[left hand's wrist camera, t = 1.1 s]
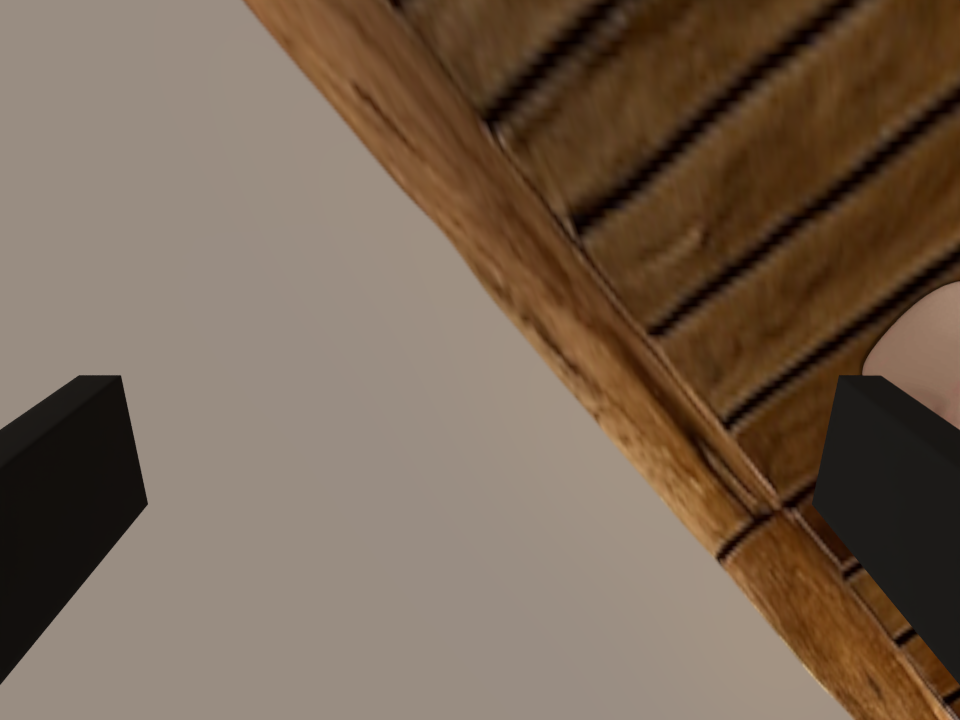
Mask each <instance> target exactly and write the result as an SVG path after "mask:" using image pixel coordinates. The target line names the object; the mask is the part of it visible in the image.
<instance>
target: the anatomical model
mask: <svg viewBox="0 0 960 720" xmlns="http://www.w3.org/2000/svg"><path fill="white" fill-rule="evenodd" d="M862 374H863V375H881V376H883V377H884V378H885V379H887V380H888V381H890V382H891V383H893V384H894V385H896V386H897V387H899V388H900V389H901V390H903V391H904V392H906V393H907V394H909V395H910V396H912V397H913V398H914V399H916V400H917V401H919V402H920V403H922V404H923V405H925V406H926V407H927V408H929V409H930V410H932V411H933V412H935V413H936V414H938V415H939V416H940V417H942V418H943V419H945V420H946V421H948V422H949V423H951V424H952V425H954V426H955V427H956V428H958V429H959V430H960V281H959V282H955V283H951V284H948V285H945V286H943V287H941V288H939V289H937V290H935V291H933V292H931V293H930V294H928V295H927V296H925V297H924V298H922V299H921V300H920V301H918V302H917V303H916V304H914V305H913V306H912V307H911V308H910V309H909V310H908V311H906V312H905V313H904V314H903V315H902V316H901V317H900V318H899V319H898V320H897V321H896V322H895V323H894V324H893V325H892V326H891V327H890V329H889V330H888V331H887V332H886V333H885V334H884V335H883V337H882V338H881V339H880V340H879V341H878V343H877V344H876V345H875V347H874V348H873V349H872V351H871V352H870V354H869V355H868V357H867V359H866V361H865V363H864V366H863V372H862Z"/></svg>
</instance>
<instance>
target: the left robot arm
mask: <svg viewBox="0 0 960 720" xmlns="http://www.w3.org/2000/svg"><path fill="white" fill-rule="evenodd" d="M147 505H148V502H147V497H146V492H145V488H144V483H143V478H142V474H141V469H140V464H139V459H138V454H137V450H136V445H135V440H134V435H133V431H132V426H131V421H130V416H129V412H128V407H127V402H126V397H125V393H124V388H123V383H122V378H121V376H120V375H79V376H77V377H76V378H75V379H73V380H72V381H70V382H69V383H67V384H66V385H64V386H63V387H61V388H60V389H59V390H57V391H56V392H54V393H53V394H51V395H50V396H49V397H47V398H46V399H44V400H43V401H41V402H40V403H38V404H37V405H35V406H34V407H33V408H31V409H30V410H28V411H27V412H25V413H24V414H22V415H21V416H20V417H18V418H17V419H15V420H14V421H12V422H11V423H9V424H8V425H6V426H5V427H4V428H2V429H1V430H0V684H1V683H2V682H3V681H4V680H5V678H6V677H7V676H8V675H9V673H10V672H11V671H12V670H13V669H14V667H15V666H16V665H17V664H18V662H19V661H20V660H21V659H22V658H23V656H24V655H25V654H26V653H27V651H28V650H29V649H30V648H31V647H32V645H33V644H34V643H35V642H36V640H37V639H38V638H39V637H40V636H41V634H42V633H43V632H44V631H45V629H46V628H47V627H48V626H49V625H50V623H51V622H52V621H53V620H54V618H55V617H56V616H57V615H58V614H59V612H60V611H61V610H62V609H63V607H64V606H65V605H66V604H67V603H68V601H69V600H70V599H71V598H72V596H73V595H74V594H75V593H76V592H77V590H78V589H79V588H80V587H81V585H82V584H83V583H84V582H85V581H86V579H87V578H88V577H89V576H90V574H91V573H92V572H93V571H94V570H95V568H96V567H97V566H98V565H99V563H100V562H101V561H102V560H103V559H104V557H105V556H106V555H107V554H108V552H109V551H110V550H111V549H112V548H113V546H114V545H115V544H116V543H117V541H118V540H119V539H120V538H121V537H122V535H123V534H124V533H125V532H126V530H127V529H128V528H129V527H130V526H131V524H132V523H133V522H134V521H135V519H136V518H137V517H138V516H139V515H140V513H141V512H142V511H143V510H144V508H145V507H146V506H147ZM812 505H813V506H814V507H815V508H816V510H817V511H818V512H819V513H820V515H821V516H822V517H823V518H824V519H825V521H826V522H827V523H828V524H829V526H830V527H831V528H832V529H833V530H834V532H835V533H836V534H837V535H838V537H839V538H840V539H841V540H842V541H843V543H844V544H845V545H846V546H847V548H848V549H849V550H850V551H851V552H852V554H853V555H854V556H855V557H856V559H857V560H858V561H859V562H860V563H861V565H862V566H863V567H864V568H865V570H866V571H867V572H868V573H869V574H870V576H871V577H872V578H873V579H874V581H875V582H876V583H877V584H878V585H879V587H880V588H881V589H882V590H883V592H884V593H885V594H886V595H887V596H888V598H889V599H890V600H891V601H892V603H893V604H894V605H895V606H896V607H897V609H898V610H899V611H900V612H901V614H902V615H903V616H904V617H905V618H906V620H907V621H908V622H909V623H910V625H911V626H912V627H913V628H914V629H915V631H916V632H917V633H918V634H919V636H920V637H921V638H922V639H923V640H924V642H925V643H926V644H927V645H928V647H929V648H930V649H931V650H932V651H933V653H934V654H935V655H936V656H937V658H938V659H939V660H940V661H941V662H942V664H943V665H944V666H945V667H946V669H947V670H948V671H949V672H950V673H951V675H952V676H953V677H954V678H955V680H956V681H957V682H958V683H959V684H960V430H959V429H958V428H956V427H955V426H954V425H952V424H951V423H949V422H948V421H946V420H945V419H943V418H942V417H940V416H939V415H938V414H936V413H935V412H933V411H932V410H930V409H929V408H927V407H926V406H925V405H923V404H922V403H920V402H919V401H917V400H916V399H914V398H913V397H912V396H910V395H909V394H907V393H906V392H904V391H903V390H901V389H900V388H899V387H897V386H896V385H894V384H893V383H891V382H890V381H888V380H887V379H885V378H884V377H883V376H881V375H839V378H838V383H837V388H836V393H835V397H834V402H833V407H832V412H831V416H830V421H829V426H828V431H827V435H826V440H825V445H824V450H823V454H822V459H821V464H820V469H819V473H818V478H817V483H816V488H815V492H814V497H813V502H812Z"/></svg>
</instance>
